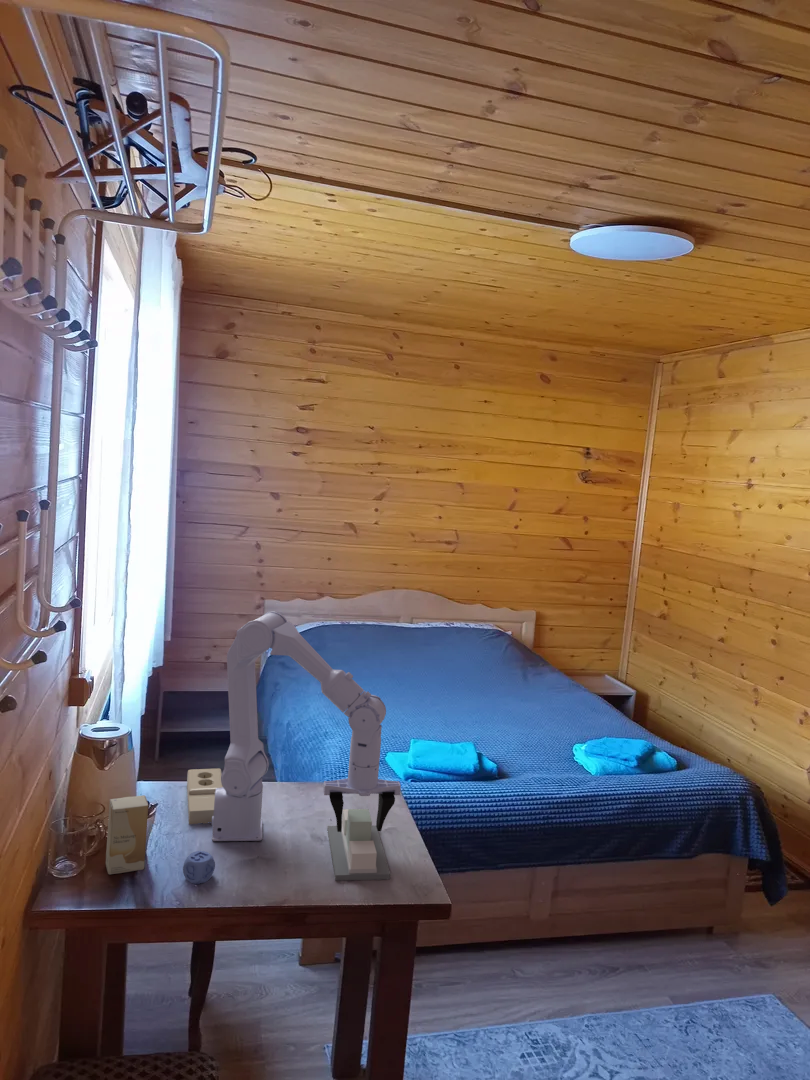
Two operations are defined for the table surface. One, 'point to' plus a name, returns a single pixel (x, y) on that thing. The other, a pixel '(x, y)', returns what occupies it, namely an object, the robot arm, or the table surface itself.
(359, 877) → the rail board
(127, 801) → the skincare box
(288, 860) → the table surface
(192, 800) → the electrical outlet
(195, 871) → the decorative dice
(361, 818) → the block
